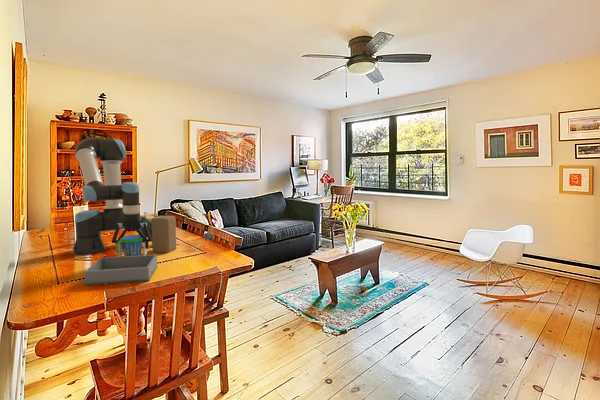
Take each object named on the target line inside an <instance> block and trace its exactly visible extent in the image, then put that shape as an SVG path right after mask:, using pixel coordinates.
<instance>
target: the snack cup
mask: <svg viewBox="0 0 600 400" xmlns="http://www.w3.org/2000/svg"><path fill="white" fill-rule="evenodd" d="M120 243H121V244H122V253H123V255H124V256H142V253H143V251H142V250H143V249H142V248H143V238H141V236H140V235H139V234H129V235H124V236H123V238H120V240H119V241H118V242H117V244H116V243H115V252H116V253H117V254H119V249H118V245H119V244H120Z"/></svg>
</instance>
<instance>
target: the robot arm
mask: <svg viewBox="0 0 600 400" xmlns="http://www.w3.org/2000/svg"><path fill="white" fill-rule="evenodd" d="M126 154H127V151H126V148H125V144H124V143H123V141H122V140H121V139H115V138H98V137H88V138H85V139H83V140H81V141H80V142H79V143H78V144H77V145H76V147H75V149H74V155H75V158H76V161H78V162H79V163H78V164H79V166H80V169H81V173H82V177H83V182H84V185H85V186H82V188H81V192H82V193H81V194H82V198H83V200H84V202H100V201H105V206H104V207H103V209H102V211H100V210H99V209H98V208H97V209H96V208H95V209H87V210H81V211H79V212H76V214H75V215H74V225H75V226H74V227H75V241H74V246H73V247H72V253H73V254H74V255H90V254H91V255H93V254H97V253H101V252H103V251H105V250H106V244H105V243H104V241H103V239H102V236H101V235H102V234H101V233H103V232H108V231H109V232H111V231H114V233H113V235H112V236H113V237H112V240H111V243H113V244H115V245H116V244H117V242H118V241H119V240H120V238H123V236H126V235H125V234H126V233H127V232H128V233H129V232H136V233H137V235H140V236H141V238H143V240H144V243H142V247H143V255H147V250H148V249H149V242H152V241H151V240H152V237H151V235H150V233H149V230H148V228H147V223H141V222H140V216H141V214H140V209H141V208H140V207H141V206H140V188H139V185H140V184H139V183H138V182H133V181H132V182H131V181H129V182H122V177H121V175H122V173H121V165H122V163H123V162H124V161H123V160H125V159H126V157H127V155H126ZM96 159H99V162H100V163H101V164H102V167H103V179H104V180H103V179H102V175H101V172H100V169H99V165H98V162H97V160H96ZM140 226H142V227H144V231H145V233H146V235H147V238H146V236H145V235H144V234H143V232H142V231H141V229H140V228H139V227H140ZM121 230H122V232H121V234H120V235H119V232H120V231H121ZM118 235H119V237H118ZM118 249H119V253H118V257H122V256H123V247H122V243H120V244H119V245H118Z"/></svg>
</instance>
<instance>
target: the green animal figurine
mask: <svg viewBox="0 0 600 400" xmlns="http://www.w3.org/2000/svg"><path fill="white" fill-rule="evenodd" d="M147 215H148V213H147V212H143V215H142V216H141V215H140V222H141V223H147V228H148V230H149V233H150V235H151V237H152V222H151V218H150V217H149V218H148V217H147ZM139 228H140V229H141V231H142V232H143V234H144V235H145V236H146V238H147V235H146V233H145V231H144V227H142V226H140V227H139ZM147 239H148V238H147ZM150 242H152V240H151V241H150ZM143 243H144V240H143ZM143 243H142V244H143Z"/></svg>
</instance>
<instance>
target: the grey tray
mask: <svg viewBox="0 0 600 400" xmlns="http://www.w3.org/2000/svg"><path fill="white" fill-rule="evenodd" d="M157 268H158V254H149V255H147V254H146V255H144V254H143V255H142V254H141V255H140V256H123V255H122V256H120V257H119V256H109V257H100V259H98V260H97V261H96V262H95V263H93V264H92V265H90V267H88V268H87V269H86V270H85V271H84V274H83V275H84V286H85V287H87V286H86V285H91V286H98V285H97V284H104V285H106V284H105V283H118V284H131V283H142V282H145V283H146V282H150V280H151V278H152V276H153V275H154V273H155V271H156V270H157Z"/></svg>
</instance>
